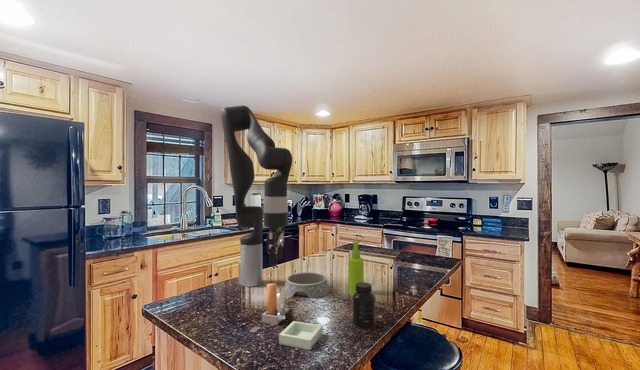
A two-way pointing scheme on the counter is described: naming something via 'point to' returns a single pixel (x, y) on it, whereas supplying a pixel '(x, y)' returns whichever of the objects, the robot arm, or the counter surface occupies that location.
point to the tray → (301, 335)
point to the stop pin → (271, 299)
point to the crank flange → (286, 310)
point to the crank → (280, 305)
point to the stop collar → (270, 319)
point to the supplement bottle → (363, 306)
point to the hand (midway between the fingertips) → (276, 262)
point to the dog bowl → (306, 285)
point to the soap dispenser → (355, 268)
